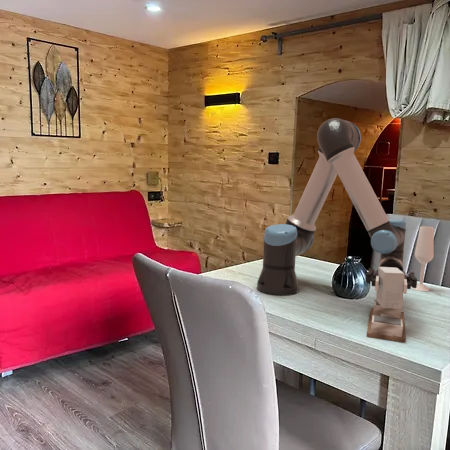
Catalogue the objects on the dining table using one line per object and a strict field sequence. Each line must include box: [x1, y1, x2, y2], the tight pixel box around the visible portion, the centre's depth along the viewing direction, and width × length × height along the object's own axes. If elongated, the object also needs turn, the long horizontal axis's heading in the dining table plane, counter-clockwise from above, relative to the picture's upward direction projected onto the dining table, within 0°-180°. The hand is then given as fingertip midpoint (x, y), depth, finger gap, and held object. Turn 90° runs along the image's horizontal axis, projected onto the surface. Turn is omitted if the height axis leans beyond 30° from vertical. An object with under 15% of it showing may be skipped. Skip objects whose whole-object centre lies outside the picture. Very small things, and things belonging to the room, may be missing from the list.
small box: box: [375, 266, 406, 310], centre depth 132 cm, size 8×6×10 cm
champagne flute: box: [411, 225, 435, 292], centre depth 172 cm, size 7×7×24 cm
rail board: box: [366, 299, 407, 343], centre depth 133 cm, size 10×24×4 cm, turn 160°
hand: (390, 287), depth 127 cm, fingers closed on small box, 7 cm apart
